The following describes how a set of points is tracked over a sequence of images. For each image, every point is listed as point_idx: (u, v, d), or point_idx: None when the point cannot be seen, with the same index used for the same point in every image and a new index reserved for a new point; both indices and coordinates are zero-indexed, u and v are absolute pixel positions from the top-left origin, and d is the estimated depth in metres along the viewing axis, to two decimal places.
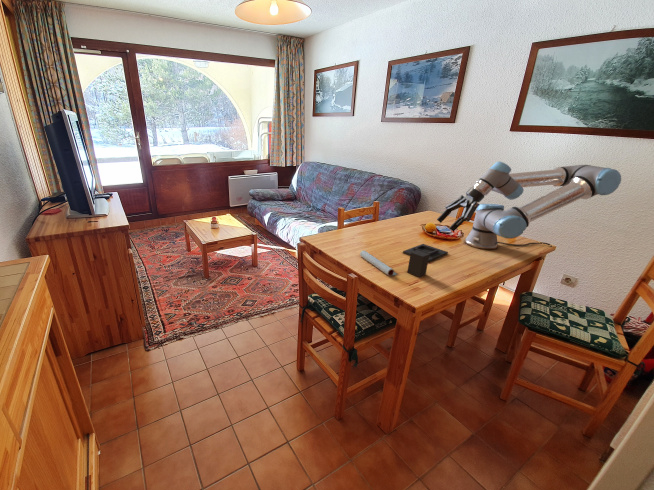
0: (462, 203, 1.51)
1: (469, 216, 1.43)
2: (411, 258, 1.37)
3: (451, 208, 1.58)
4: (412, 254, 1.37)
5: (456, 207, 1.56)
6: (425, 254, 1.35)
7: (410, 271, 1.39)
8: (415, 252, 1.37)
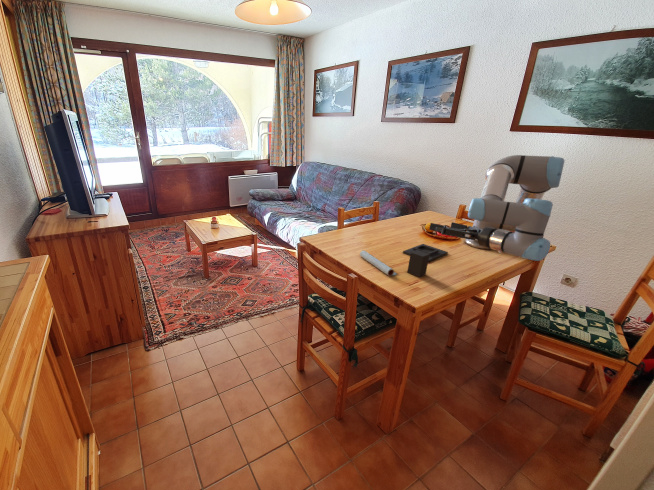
0: None
1: None
2: (411, 258, 1.37)
3: None
4: (412, 254, 1.37)
5: None
6: (425, 254, 1.35)
7: (410, 271, 1.39)
8: (415, 252, 1.37)
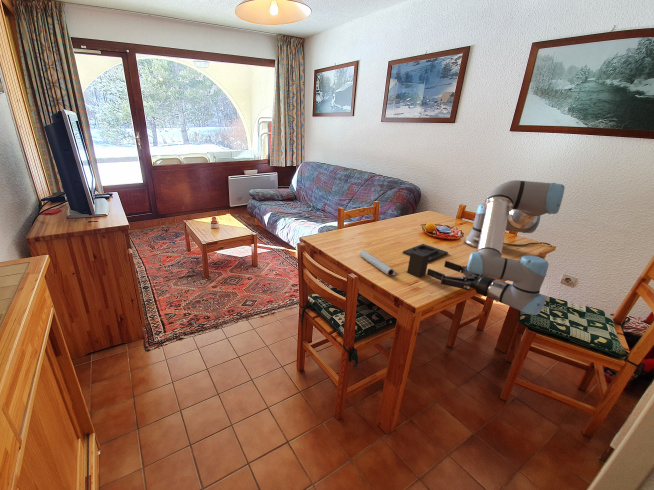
0: None
1: None
2: (411, 258, 1.37)
3: None
4: (412, 254, 1.37)
5: None
6: (425, 254, 1.35)
7: (410, 271, 1.39)
8: (415, 252, 1.37)
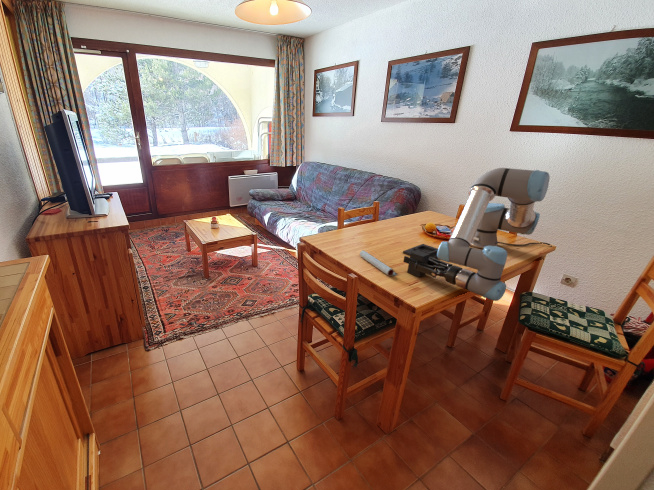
0: None
1: None
2: None
3: None
4: (412, 254, 1.37)
5: None
6: (425, 254, 1.35)
7: (410, 271, 1.39)
8: (415, 252, 1.37)
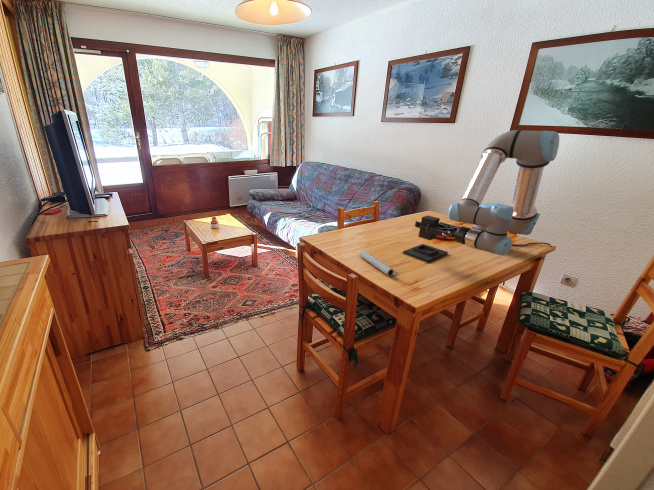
0: None
1: None
2: None
3: None
4: (423, 219, 1.46)
5: None
6: (436, 218, 1.44)
7: (421, 235, 1.49)
8: (426, 217, 1.46)
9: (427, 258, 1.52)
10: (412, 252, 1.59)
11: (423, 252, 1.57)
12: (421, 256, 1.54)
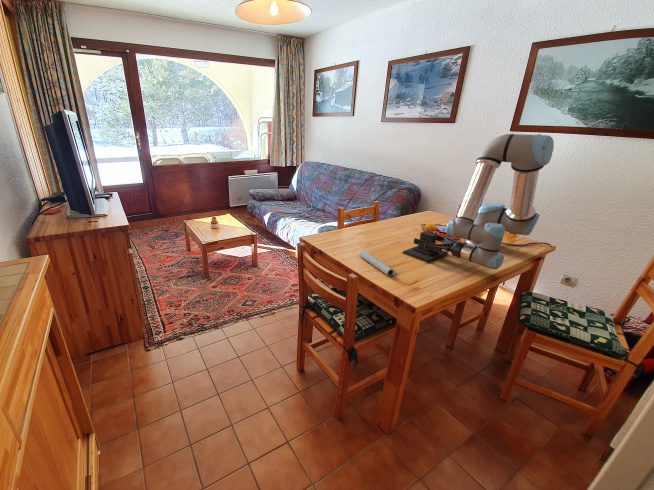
0: None
1: None
2: (421, 238, 1.58)
3: None
4: (422, 234, 1.57)
5: None
6: (434, 234, 1.55)
7: (420, 249, 1.60)
8: (424, 232, 1.57)
9: (427, 258, 1.52)
10: (412, 252, 1.59)
11: (423, 252, 1.57)
12: (421, 256, 1.54)
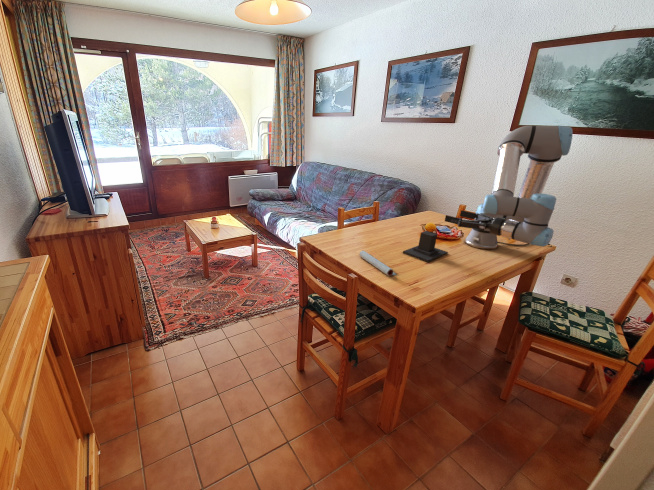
0: None
1: None
2: (421, 238, 1.58)
3: None
4: (422, 234, 1.57)
5: None
6: (434, 234, 1.55)
7: (420, 249, 1.60)
8: (424, 232, 1.57)
9: (427, 258, 1.52)
10: (412, 252, 1.59)
11: (423, 252, 1.57)
12: (421, 256, 1.54)
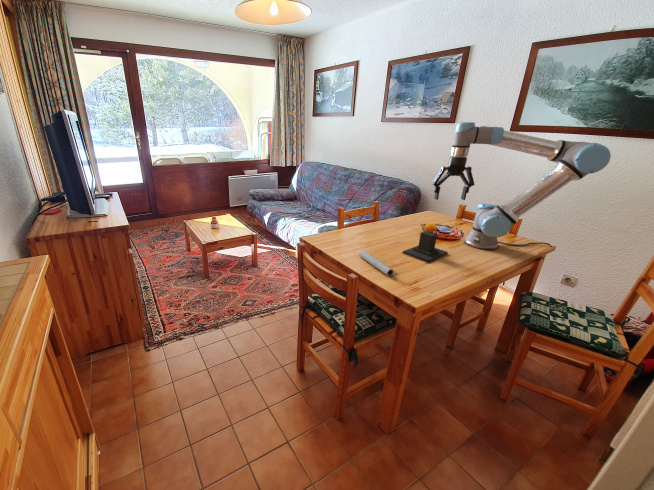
0: None
1: (434, 180, 1.55)
2: (421, 238, 1.58)
3: (464, 182, 1.55)
4: (422, 234, 1.57)
5: (462, 179, 1.54)
6: (434, 234, 1.55)
7: (420, 249, 1.60)
8: (424, 232, 1.57)
9: (427, 258, 1.52)
10: (412, 252, 1.59)
11: (423, 252, 1.57)
12: (421, 256, 1.54)
